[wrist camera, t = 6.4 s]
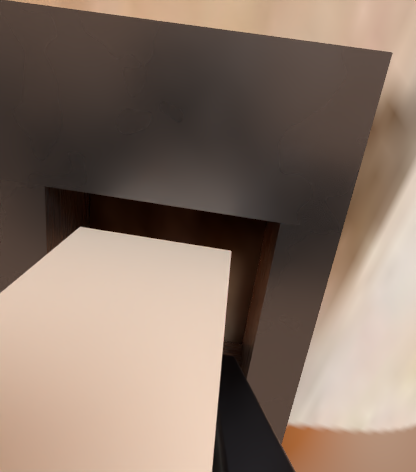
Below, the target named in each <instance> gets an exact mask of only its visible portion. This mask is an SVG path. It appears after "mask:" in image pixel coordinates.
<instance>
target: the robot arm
mask: <svg viewBox="0 0 416 472" xmlns="http://www.w3.org/2000/svg"><path fill="white" fill-rule="evenodd" d="M212 472H295V470H294V468H293V466H292V464H291V462H290V461H289V459H288V457H287V455H286V453H285V451H284V449H283V447H282V446H281V443H280V442H279V440H278V438H277V436H276V434H275V432H274V430H273V428H272V426H271V424H270V423H269V421H268V419H267V417H266V415H265V413H264V411H263V409H262V407H261V406H260V404H259V402H258V400H257V398H256V396H255V394H254V392H253V390H252V388H251V387H250V385H249V383H248V381H247V379H246V377H245V375H244V373H243V371H242V369H241V368H240V366H239V364H238V362H237V360H236V358H235V357H234V356H233V355H230V354H224V353H222V363H221V375H220V386H219V397H218V408H217V420H216V431H215V442H214V453H213V465H212Z"/></svg>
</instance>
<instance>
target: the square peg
mask: <svg viewBox="0 0 416 472" xmlns="http://www.w3.org/2000/svg"><path fill="white" fill-rule="evenodd" d="M230 262H231V251H230V250H223V249H217V248H211V247H204V246H198V245H192V244H185V243H179V242H173V241H167V240H160V239H154V238H148V237H141V236H135V235H129V234H122V233H116V232H110V231H103V230H97V229H91V228H84V227H79V228H78V229H77V230H76V231H74V232H73V233H72V234H71V235H70V236H68V237H67V238H66V239H65V240H64V241H62V242H61V243H60V244H59V245H58V246H56V247H55V248H54V249H53V250H52V251H50V252H49V253H48V254H47V255H46V256H44V257H43V258H42V259H41V260H40V261H38V262H37V263H36V264H35V265H34V266H32V267H31V268H30V269H29V270H27V271H26V272H25V273H24V274H23V275H21V276H20V277H19V278H18V279H17V280H15V281H14V282H13V283H12V284H11V285H9V286H8V287H7V288H6V289H5V290H3V291H2V292H1V293H0V472H212V465H213V453H214V442H215V431H216V420H217V408H218V397H219V386H220V375H221V363H222V352H223V341H224V330H225V318H226V307H227V296H228V285H229V273H230Z"/></svg>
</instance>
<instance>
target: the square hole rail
mask: <svg viewBox="0 0 416 472" xmlns="http://www.w3.org/2000/svg"><path fill="white" fill-rule="evenodd" d="M391 56H392V53H391V52H384V51H377V50H369V49H362V48H355V47H347V46H340V45H332V44H325V43H318V42H310V41H303V40H296V39H288V38H281V37H273V36H266V35H259V34H251V33H244V32H236V31H229V30H222V29H214V28H207V27H200V26H192V25H185V24H177V23H170V22H163V21H155V20H148V19H140V18H133V17H126V16H118V15H111V14H104V13H96V12H89V11H81V10H74V9H67V8H59V7H52V6H44V5H37V4H30V3H22V2H15V1H8V0H0V293H1V292H2V291H3V290H5V289H6V288H7V287H8V286H9V285H11V284H12V283H13V282H14V281H15V280H17V279H18V278H19V277H20V276H21V275H23V274H24V273H25V272H26V271H27V270H29V269H30V268H31V267H32V266H34V265H35V264H36V263H37V262H38V261H40V260H41V259H42V258H43V257H44V256H46V255H47V254H48V253H49V252H50V251H52V250H53V249H54V248H55V247H56V246H58V245H59V244H60V243H61V242H62V241H64V240H65V239H66V238H67V237H68V236H70V235H71V234H72V233H73V232H74V231H76V230H77V229H78V228H79V227H84V228H89V218H90V193H92V194H98V195H104V196H111V197H117V198H124V199H130V200H137V201H143V202H149V203H156V204H162V205H169V206H175V207H182V208H188V209H194V210H201V211H207V212H214V213H220V214H227V215H233V216H240V217H246V218H252V219H259V220H265V221H267V223H266V228H265V233H264V238H263V243H262V248H261V253H260V258H259V263H258V268H257V273H256V278H255V283H254V288H253V293H252V298H251V302H250V307H249V312H248V317H247V322H246V327H245V332H244V337H243V342H242V344H238V343H232V342H226V341H223V352H222V353H224V354H230V355H233V356H234V357H235V358H236V360H237V362H238V364H239V366H240V368H241V369H242V371H243V373H244V375H245V377H246V379H247V381H248V383H249V385H250V387H251V388H252V390H253V392H254V394H255V396H256V398H257V400H258V402H259V404H260V406H261V407H262V409H263V411H264V413H265V415H266V417H267V419H268V421H269V423H270V424H271V426H272V428H273V430H274V432H275V434H276V436H277V438H278V440H279V442H280V443H281V444H282V440H283V437H284V433H285V430H286V426H287V423H288V419H289V416H290V412H291V409H292V405H293V402H294V398H295V395H296V391H297V387H298V384H299V380H300V377H301V373H302V370H303V366H304V363H305V359H306V356H307V352H308V349H309V345H310V342H311V338H312V335H313V331H314V328H315V324H316V321H317V317H318V313H319V310H320V306H321V303H322V299H323V296H324V292H325V289H326V285H327V282H328V278H329V275H330V271H331V268H332V264H333V261H334V257H335V254H336V250H337V246H338V243H339V239H340V236H341V232H342V229H343V225H344V222H345V218H346V215H347V211H348V208H349V204H350V201H351V197H352V194H353V190H354V187H355V183H356V180H357V176H358V172H359V169H360V165H361V162H362V158H363V155H364V151H365V148H366V144H367V141H368V137H369V134H370V130H371V127H372V123H373V120H374V116H375V113H376V109H377V105H378V102H379V98H380V95H381V91H382V88H383V84H384V81H385V77H386V74H387V70H388V67H389V63H390V60H391Z"/></svg>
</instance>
